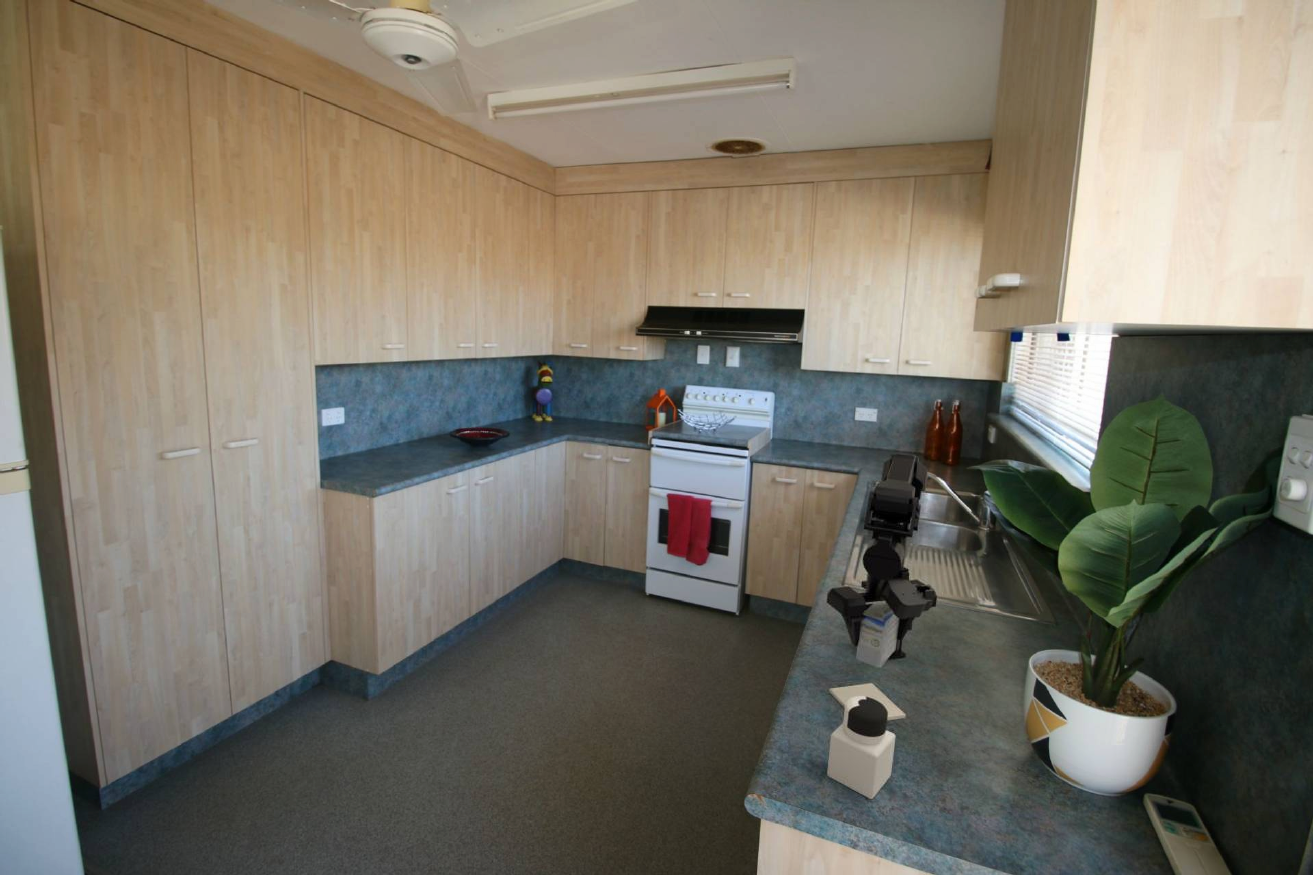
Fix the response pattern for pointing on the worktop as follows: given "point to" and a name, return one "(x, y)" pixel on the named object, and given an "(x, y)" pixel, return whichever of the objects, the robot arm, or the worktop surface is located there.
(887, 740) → the medicine bottle
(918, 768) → the worktop surface
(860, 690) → the mat
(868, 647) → the medicine box
